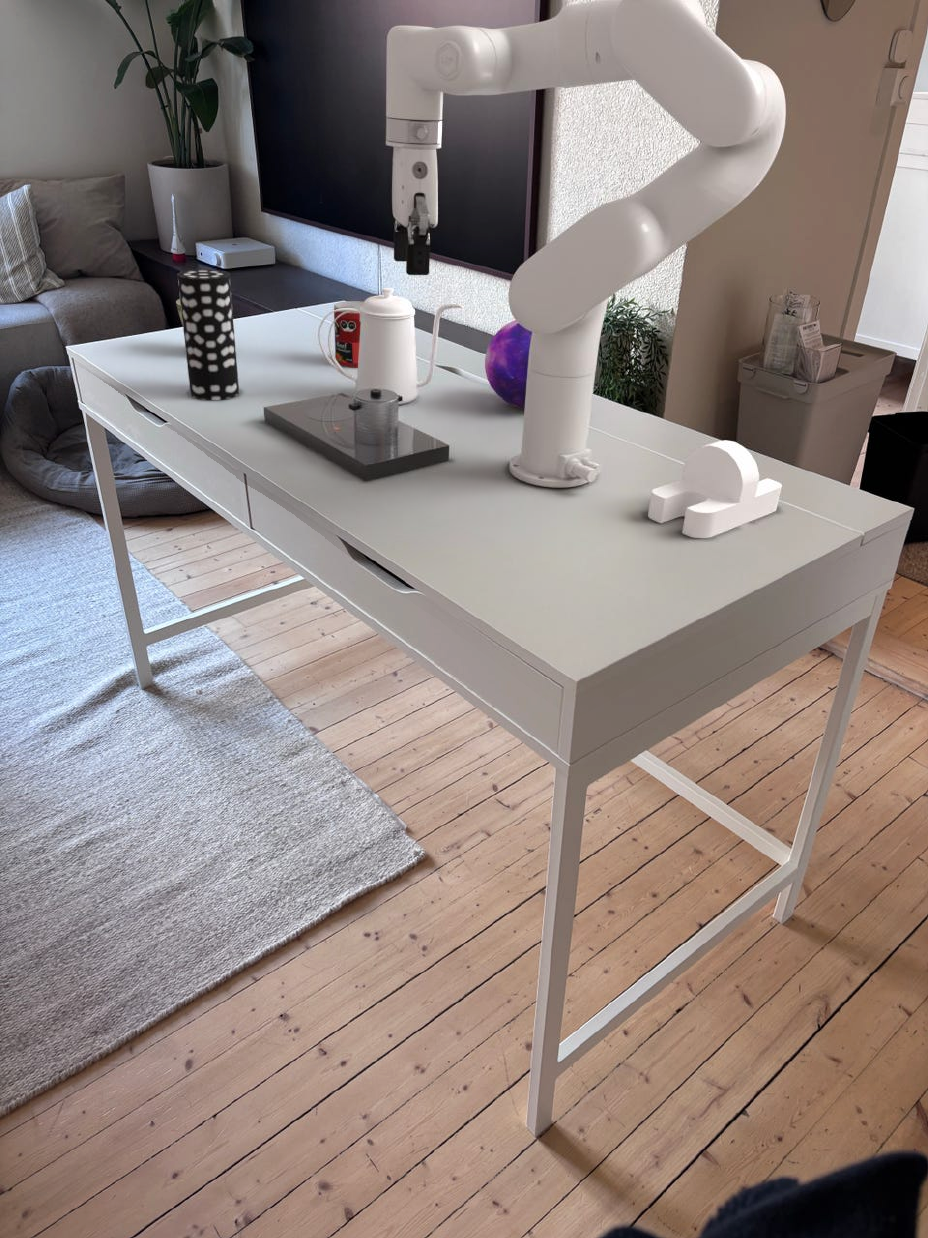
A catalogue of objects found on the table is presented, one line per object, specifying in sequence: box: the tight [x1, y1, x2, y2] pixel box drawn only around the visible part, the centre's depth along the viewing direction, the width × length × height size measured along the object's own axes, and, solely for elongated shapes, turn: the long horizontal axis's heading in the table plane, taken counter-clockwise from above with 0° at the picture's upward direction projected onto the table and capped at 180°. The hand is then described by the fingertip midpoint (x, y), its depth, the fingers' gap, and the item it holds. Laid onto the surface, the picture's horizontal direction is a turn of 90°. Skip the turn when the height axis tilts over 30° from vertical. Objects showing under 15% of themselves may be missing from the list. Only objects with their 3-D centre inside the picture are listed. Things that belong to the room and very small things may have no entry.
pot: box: [349, 388, 403, 445], centre depth 140 cm, size 7×9×7 cm
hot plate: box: [263, 392, 450, 482], centre depth 146 cm, size 30×15×2 cm, turn 39°
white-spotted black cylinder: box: [177, 268, 240, 401], centre depth 159 cm, size 8×8×20 cm
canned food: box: [333, 300, 364, 368], centre depth 182 cm, size 8×8×11 cm
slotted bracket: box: [647, 439, 783, 539], centre depth 126 cm, size 18×10×10 cm, turn 130°
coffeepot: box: [317, 286, 465, 406], centre depth 162 cm, size 11×25×19 cm, turn 84°
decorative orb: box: [484, 319, 532, 408], centre depth 162 cm, size 15×15×15 cm
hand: (410, 267), depth 134 cm, fingers open, 9 cm apart
